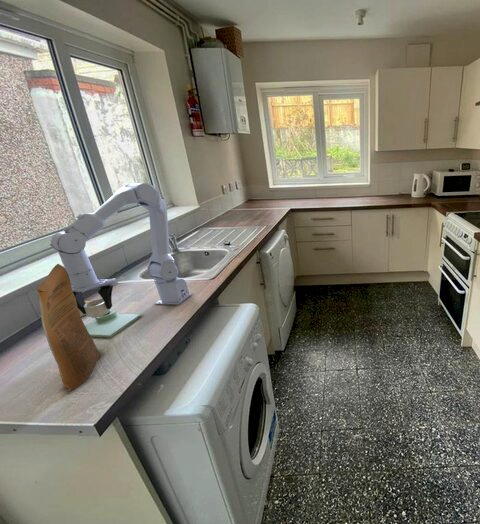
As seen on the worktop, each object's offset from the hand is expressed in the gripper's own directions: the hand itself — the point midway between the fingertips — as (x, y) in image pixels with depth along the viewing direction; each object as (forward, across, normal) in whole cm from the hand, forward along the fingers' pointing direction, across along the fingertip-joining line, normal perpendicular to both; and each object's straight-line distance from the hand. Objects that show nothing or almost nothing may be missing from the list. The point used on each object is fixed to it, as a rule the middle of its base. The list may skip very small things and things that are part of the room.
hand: (98, 309), depth 91 cm
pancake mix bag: (+8, +1, -20) cm, 22 cm away
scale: (+8, 0, +3) cm, 8 cm away
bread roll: (+8, -13, +18) cm, 24 cm away
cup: (+1, 0, 0) cm, 1 cm away
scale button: (+6, -2, +8) cm, 10 cm away
